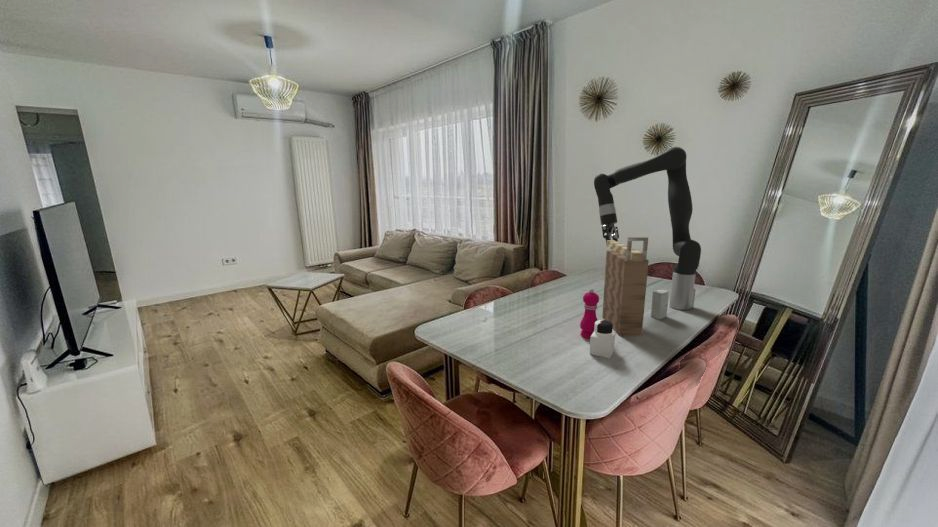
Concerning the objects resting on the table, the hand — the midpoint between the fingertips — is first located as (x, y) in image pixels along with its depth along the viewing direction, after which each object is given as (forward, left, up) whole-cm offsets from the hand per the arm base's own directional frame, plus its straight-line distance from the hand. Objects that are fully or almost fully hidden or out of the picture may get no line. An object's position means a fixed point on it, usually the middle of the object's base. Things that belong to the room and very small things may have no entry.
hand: (612, 247), depth 175 cm
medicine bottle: (+30, +48, -29) cm, 64 cm away
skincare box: (-12, +21, -29) cm, 38 cm away
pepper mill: (+28, +34, -29) cm, 53 cm away
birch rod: (+9, +24, +2) cm, 25 cm away
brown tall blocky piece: (+10, +27, -29) cm, 41 cm away
